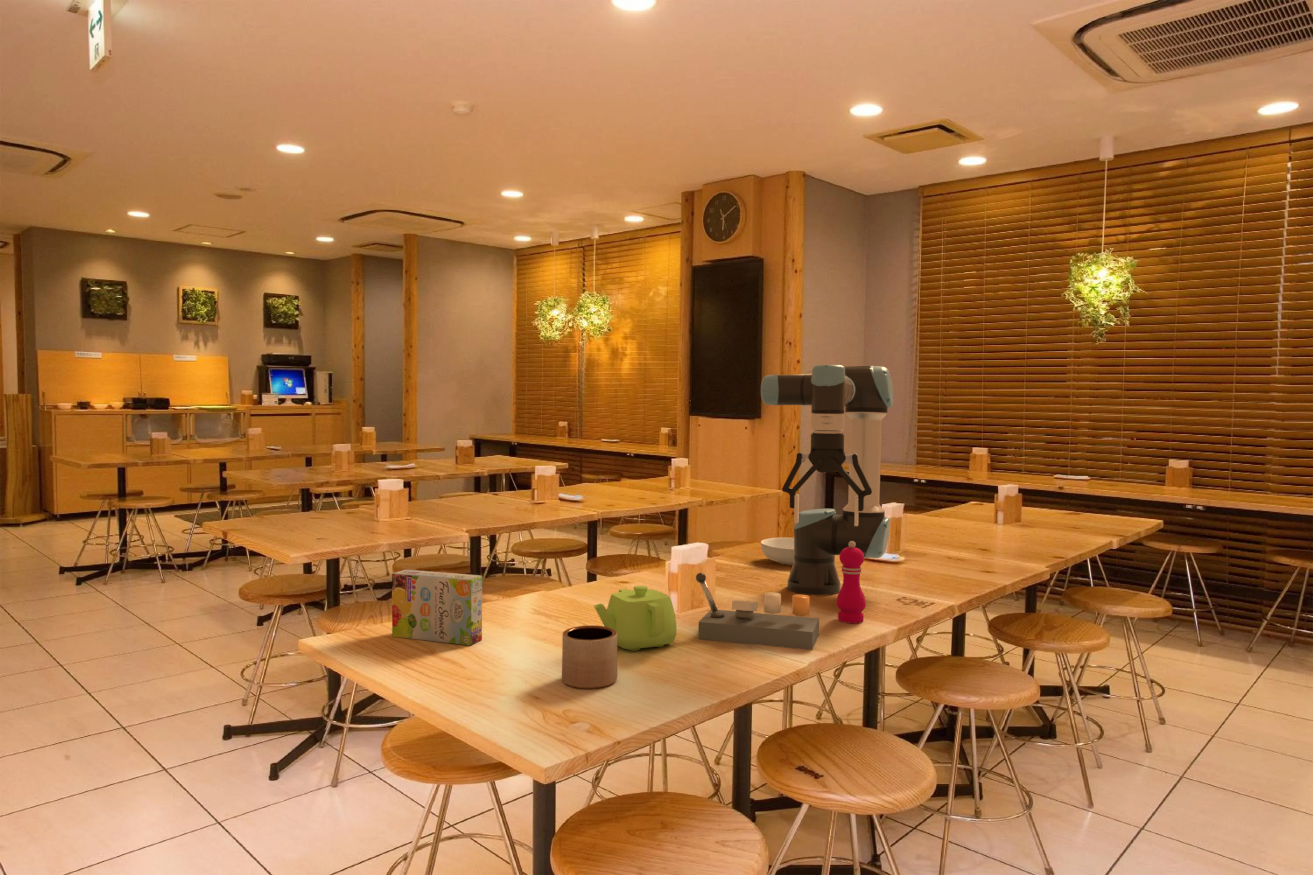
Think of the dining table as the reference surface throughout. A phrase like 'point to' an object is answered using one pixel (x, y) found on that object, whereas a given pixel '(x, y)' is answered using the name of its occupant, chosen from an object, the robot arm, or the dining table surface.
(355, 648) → the dining table surface
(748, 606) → the rocker
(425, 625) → the snack box
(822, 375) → the robot arm
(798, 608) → the button orange
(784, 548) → the serving bowl
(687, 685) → the dining table surface
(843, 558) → the pepper mill
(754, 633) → the console
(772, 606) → the button cream
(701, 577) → the lever
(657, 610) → the teapot
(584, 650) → the planter
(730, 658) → the dining table surface
